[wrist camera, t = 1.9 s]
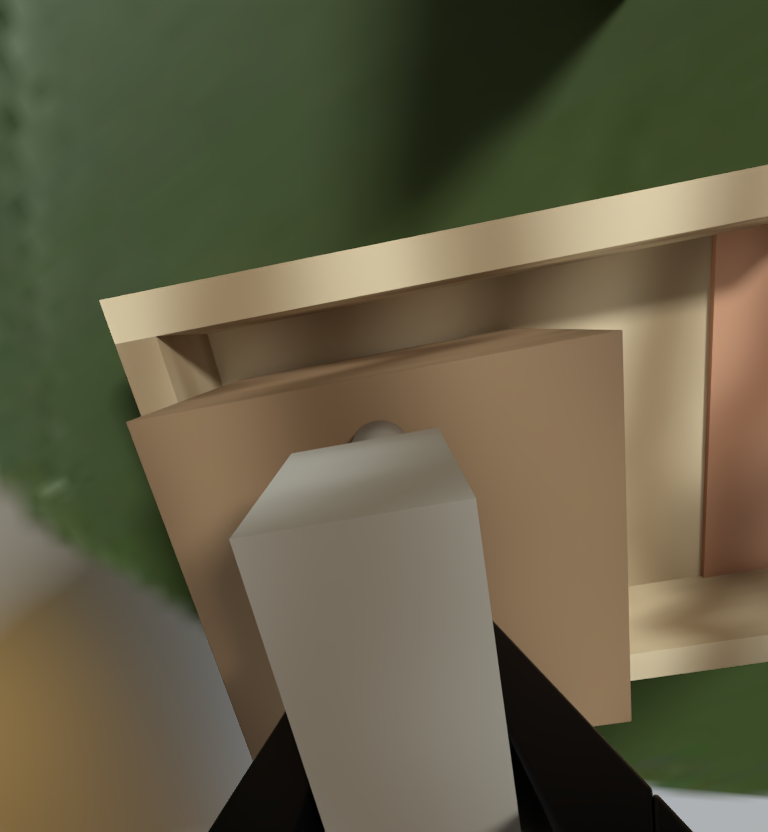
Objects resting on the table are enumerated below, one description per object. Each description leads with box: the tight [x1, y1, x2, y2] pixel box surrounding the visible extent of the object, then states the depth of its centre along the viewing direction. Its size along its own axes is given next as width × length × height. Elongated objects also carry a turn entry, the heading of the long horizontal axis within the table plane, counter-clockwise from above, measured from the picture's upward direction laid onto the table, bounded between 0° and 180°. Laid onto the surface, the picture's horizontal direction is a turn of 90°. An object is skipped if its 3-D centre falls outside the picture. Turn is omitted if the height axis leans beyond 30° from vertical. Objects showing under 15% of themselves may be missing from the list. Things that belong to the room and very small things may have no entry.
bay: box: [99, 165, 768, 681], centre depth 13 cm, size 22×16×4 cm
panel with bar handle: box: [126, 328, 631, 832], centre depth 9 cm, size 10×10×10 cm
